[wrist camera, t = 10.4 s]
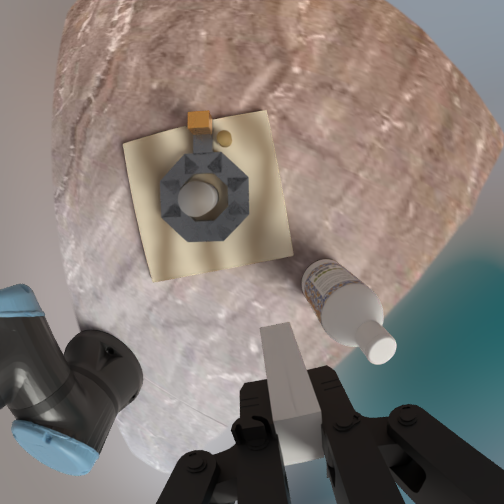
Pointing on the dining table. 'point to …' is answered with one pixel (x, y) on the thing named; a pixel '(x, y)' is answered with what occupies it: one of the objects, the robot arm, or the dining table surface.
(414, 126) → the dining table surface
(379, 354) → the bath foam
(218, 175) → the flange
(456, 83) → the dining table surface
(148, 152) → the post base
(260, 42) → the dining table surface
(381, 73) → the dining table surface
